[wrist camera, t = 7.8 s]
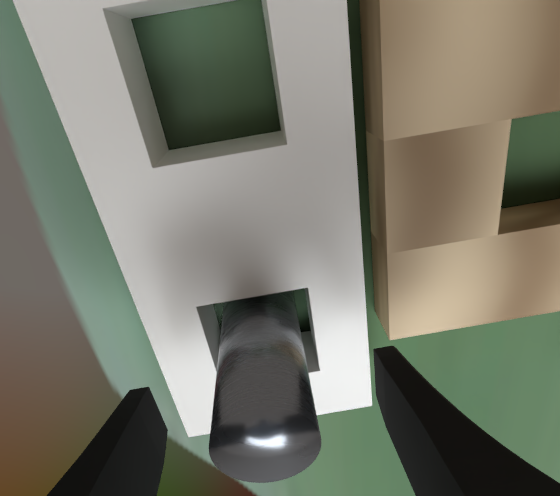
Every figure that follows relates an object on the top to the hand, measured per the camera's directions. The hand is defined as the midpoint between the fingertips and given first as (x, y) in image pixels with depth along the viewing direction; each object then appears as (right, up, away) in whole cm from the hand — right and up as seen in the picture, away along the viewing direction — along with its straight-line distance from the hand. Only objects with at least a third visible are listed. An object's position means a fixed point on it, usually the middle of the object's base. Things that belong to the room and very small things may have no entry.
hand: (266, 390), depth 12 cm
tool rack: (-1, +6, +2) cm, 7 cm away
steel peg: (0, +2, +4) cm, 5 cm away
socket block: (+10, +8, +2) cm, 13 cm away
